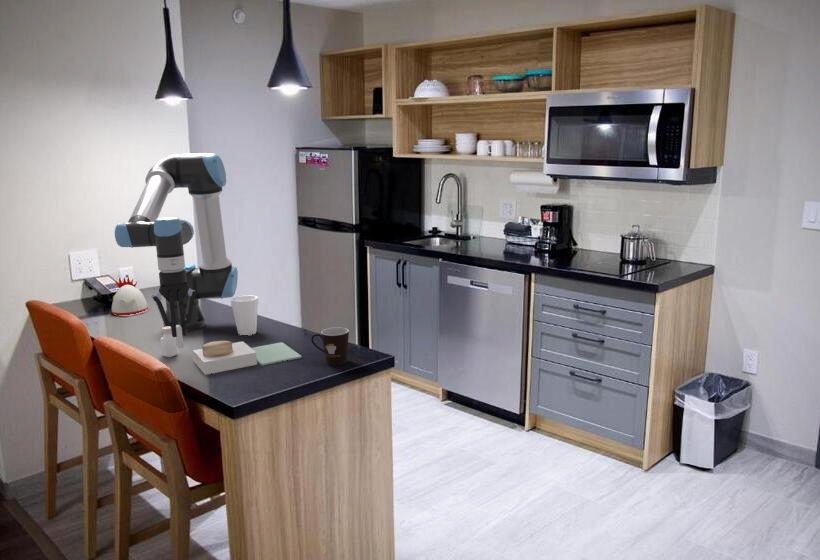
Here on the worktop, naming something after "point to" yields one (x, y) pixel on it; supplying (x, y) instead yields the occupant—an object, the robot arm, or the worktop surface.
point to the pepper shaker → (168, 343)
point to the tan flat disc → (217, 348)
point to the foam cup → (245, 313)
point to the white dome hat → (128, 299)
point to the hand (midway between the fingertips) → (180, 346)
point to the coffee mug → (334, 345)
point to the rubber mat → (274, 353)
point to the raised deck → (226, 359)
